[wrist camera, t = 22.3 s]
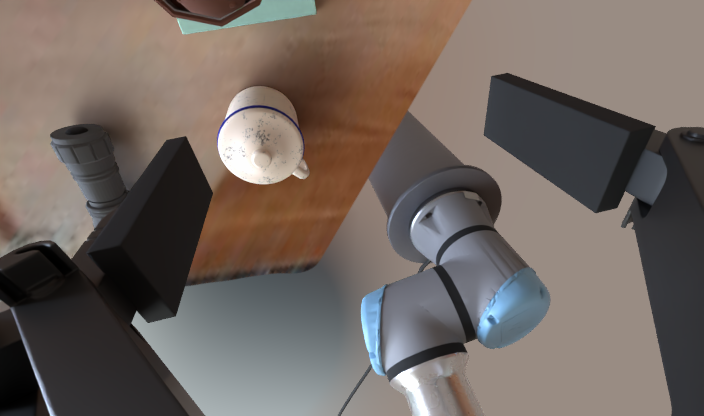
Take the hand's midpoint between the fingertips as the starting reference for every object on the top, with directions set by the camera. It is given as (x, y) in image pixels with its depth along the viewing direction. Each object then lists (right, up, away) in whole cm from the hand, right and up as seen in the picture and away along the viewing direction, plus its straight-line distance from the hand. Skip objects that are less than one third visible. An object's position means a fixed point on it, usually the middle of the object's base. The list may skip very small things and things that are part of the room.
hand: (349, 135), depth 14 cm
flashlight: (-31, +1, +28) cm, 42 cm away
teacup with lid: (-11, +8, +28) cm, 31 cm away
